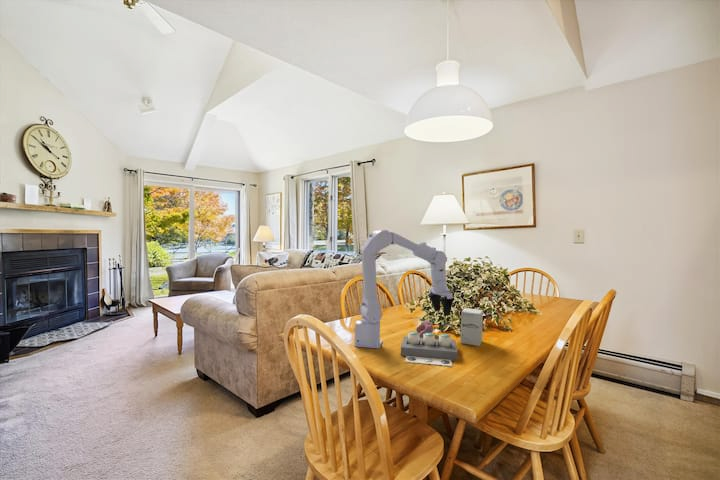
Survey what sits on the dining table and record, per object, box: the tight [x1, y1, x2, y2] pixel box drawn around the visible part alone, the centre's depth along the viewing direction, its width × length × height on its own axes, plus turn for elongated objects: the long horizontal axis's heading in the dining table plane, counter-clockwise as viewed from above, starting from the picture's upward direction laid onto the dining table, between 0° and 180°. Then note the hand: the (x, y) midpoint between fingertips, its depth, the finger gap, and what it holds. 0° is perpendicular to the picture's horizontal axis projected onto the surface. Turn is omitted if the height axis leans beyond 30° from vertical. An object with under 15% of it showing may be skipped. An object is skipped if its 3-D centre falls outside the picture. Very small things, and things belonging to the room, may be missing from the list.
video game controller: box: [415, 320, 434, 338], centre depth 138 cm, size 10×5×7 cm, turn 179°
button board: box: [400, 336, 458, 362], centre depth 119 cm, size 19×12×3 cm, turn 77°
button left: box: [407, 331, 420, 345], centre depth 120 cm, size 4×4×4 cm
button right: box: [438, 333, 452, 348], centre depth 117 cm, size 4×4×4 cm
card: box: [404, 356, 453, 368], centre depth 110 cm, size 15×5×1 cm, turn 77°
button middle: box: [423, 332, 436, 346], centre depth 118 cm, size 4×4×4 cm
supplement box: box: [459, 307, 484, 347], centre depth 129 cm, size 7×7×13 cm
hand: (442, 312), depth 134 cm, fingers open, 7 cm apart
